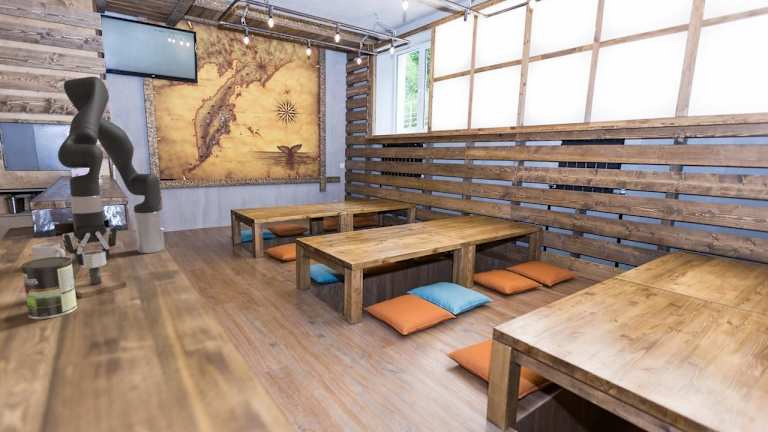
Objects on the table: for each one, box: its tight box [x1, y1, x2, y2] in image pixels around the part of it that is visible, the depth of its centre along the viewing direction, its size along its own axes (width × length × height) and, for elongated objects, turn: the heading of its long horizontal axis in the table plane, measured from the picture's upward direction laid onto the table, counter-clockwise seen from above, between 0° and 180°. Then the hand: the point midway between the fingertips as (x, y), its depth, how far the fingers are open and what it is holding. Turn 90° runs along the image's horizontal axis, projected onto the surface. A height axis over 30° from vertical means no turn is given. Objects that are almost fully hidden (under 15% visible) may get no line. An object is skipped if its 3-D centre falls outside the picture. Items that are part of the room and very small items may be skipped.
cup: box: [31, 242, 66, 260], centre depth 143 cm, size 11×8×8 cm
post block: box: [74, 266, 127, 299], centre depth 122 cm, size 12×12×6 cm
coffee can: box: [20, 256, 78, 320], centre depth 104 cm, size 10×10×14 cm
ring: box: [80, 249, 107, 269], centre depth 121 cm, size 6×6×4 cm
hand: (93, 262), depth 121 cm, fingers closed on ring, 6 cm apart
